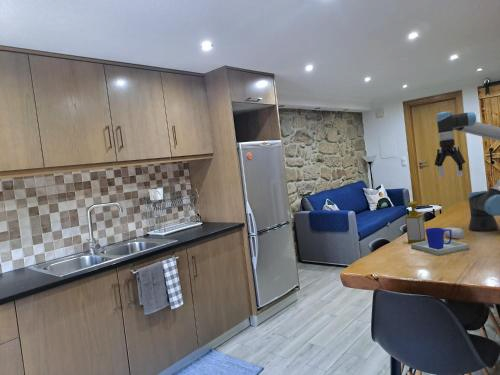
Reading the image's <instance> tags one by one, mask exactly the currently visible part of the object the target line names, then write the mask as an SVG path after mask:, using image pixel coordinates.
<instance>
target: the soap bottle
mask: <svg viewBox="0 0 500 375" xmlns="http://www.w3.org/2000/svg"><path fill="white" fill-rule="evenodd" d="M418 203H419V201H409V202H408V203H407V205H408V207H409V208H411V210H410V211H409V214H407V215H406V216H405V218H404V219H405V226H406V233H407V244H408V245H409V244H410V245H411V244H412V243H418V242H423V241H427V238H426V229H425V223H424V214H421V213H419V214H418V210H417V209H415V207H417V206H418Z"/></svg>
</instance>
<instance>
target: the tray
mask: <svg viewBox="0 0 500 375" xmlns="http://www.w3.org/2000/svg"><path fill="white" fill-rule="evenodd" d="M449 240H450V239H445V238H444V243H448V242H449ZM410 248H411V249H412V250H416V251H418V252H423V253H426V254H430V255H434V256H444V255H448V254H453V253H457V252H458V253H459V252H463V251H467V250H470V245H469V243H464V242H459V241H454V240H451V242H450V244H444V246H443V248H442V249H433V248H429V245H428V240H426V241H423V242H418V243H412V244H410Z"/></svg>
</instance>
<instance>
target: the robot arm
mask: <svg viewBox="0 0 500 375" xmlns="http://www.w3.org/2000/svg"><path fill="white" fill-rule="evenodd" d="M436 123H437V132H438V141H439V147H440V148H438V149H437V151H436V156H435V161H434V166H437V170H438V174H439V177H438V178H444V177H445V170H444V165H443V164H444V162H445V160H446V158H447V157H451V158H452V159H453V161H454V163H456V166H455V167H456V175H457V178H461V177H463V176H464V175H463V174H464V173H463V164H465V163H466V160H465V159H464V157H463V154H462V153H461V151H460V148H459V146H455V145H456V144H455V142H456V141H455V139H454V138H455V134H454V131H458V132H462V133H467V134H469V135H474V136H478V137H482V138H486V139H491V140H494V141H497V142H500V126H496V125H492V124H488V123H484V122H479V121H477V115H476V113H475V112H473V111H470V112H468V111H467V112H461V113H456V114H453V113H452V111H450V110H449V111H442V112H439V113H437V114H436ZM454 146H455V147H454ZM468 203H469V213H470V219H469V224H468V230H469V231H471V232H479V233H480V232H481V233H482V232H484V233H485V232H486V233H487V232H494V231H497V230H499V229H500V228H499V225H498V223H497V220H496V218H495V216H497V217H499V216H500V178H499V179H498V180H497V182H496V184H495V185H494V186H492V187H490V188H489V189H488V190H481V191H472V192H469V193H468Z"/></svg>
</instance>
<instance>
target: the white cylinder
mask: <svg viewBox="0 0 500 375" xmlns="http://www.w3.org/2000/svg"><path fill="white" fill-rule="evenodd" d="M445 229H450V230H451V231H452V238H451V239H457V240H462V239H463V238H464V235H465V230H464V229H463V228H461V227H450V226H446V227H445V228H443V230H445ZM444 238H449V239H450V231H445V232H444Z"/></svg>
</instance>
